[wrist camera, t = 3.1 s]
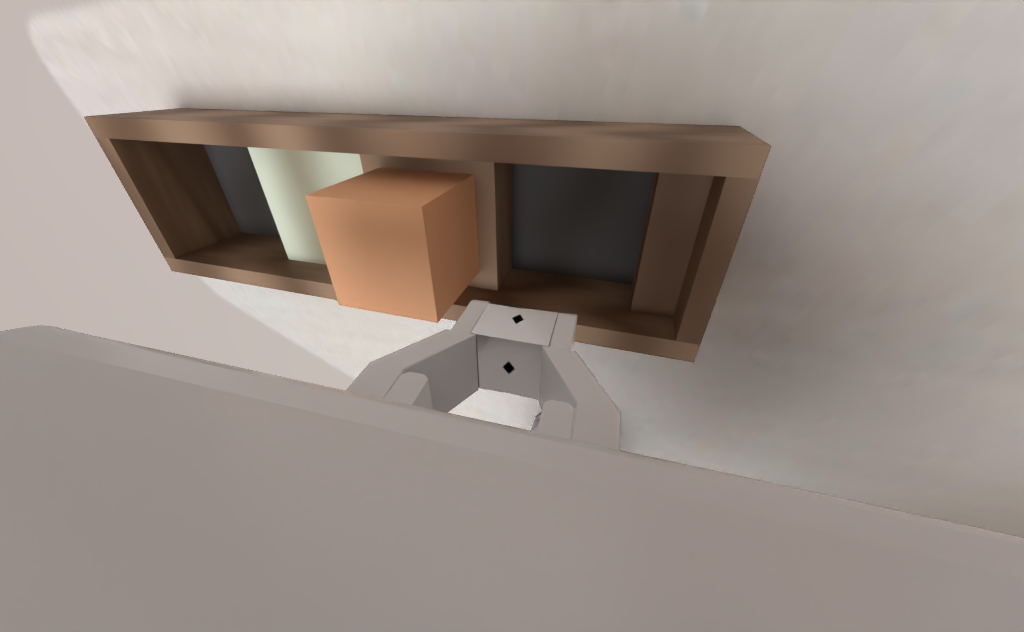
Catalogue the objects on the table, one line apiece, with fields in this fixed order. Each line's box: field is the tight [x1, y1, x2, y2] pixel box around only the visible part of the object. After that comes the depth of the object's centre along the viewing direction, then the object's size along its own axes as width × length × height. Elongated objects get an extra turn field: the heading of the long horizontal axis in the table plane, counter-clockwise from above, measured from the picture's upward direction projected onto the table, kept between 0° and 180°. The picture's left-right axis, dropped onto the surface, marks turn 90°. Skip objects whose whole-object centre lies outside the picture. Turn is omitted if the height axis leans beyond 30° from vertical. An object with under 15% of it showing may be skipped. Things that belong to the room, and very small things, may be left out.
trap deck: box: [84, 108, 771, 362], centre depth 20 cm, size 32×9×5 cm, turn 91°
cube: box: [305, 168, 479, 323], centre depth 17 cm, size 5×5×5 cm
